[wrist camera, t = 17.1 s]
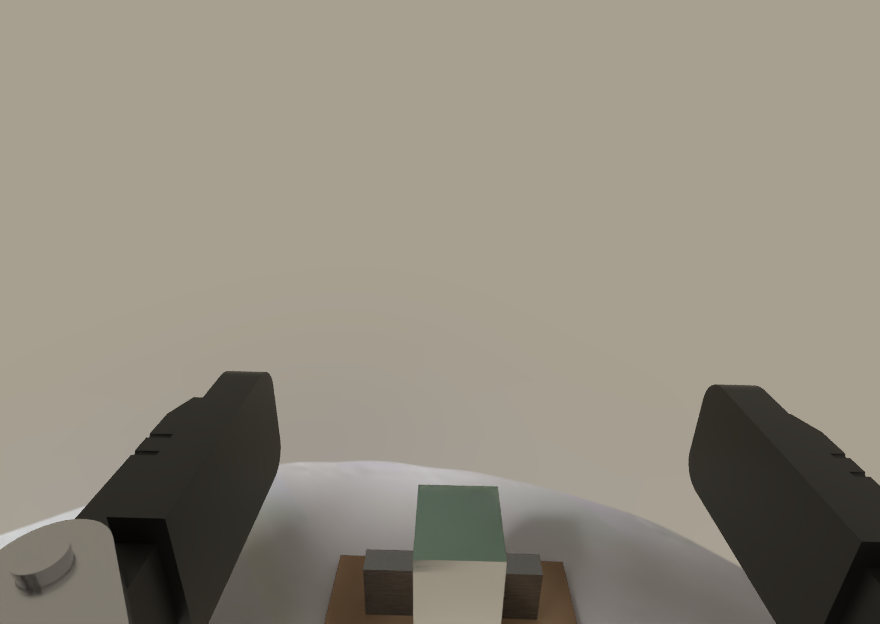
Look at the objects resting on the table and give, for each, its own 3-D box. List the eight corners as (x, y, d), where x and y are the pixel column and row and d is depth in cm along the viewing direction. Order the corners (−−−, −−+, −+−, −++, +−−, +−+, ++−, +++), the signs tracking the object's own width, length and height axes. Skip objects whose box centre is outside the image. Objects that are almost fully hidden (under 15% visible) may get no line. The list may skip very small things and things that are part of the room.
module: (413, 693, 28) (412, 559, 24) (418, 608, 33) (418, 484, 29) (494, 695, 28) (506, 562, 24) (487, 610, 33) (497, 486, 29)
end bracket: (365, 614, 33) (363, 569, 32) (369, 593, 35) (366, 549, 33) (537, 619, 33) (543, 575, 31) (533, 598, 34) (539, 554, 33)
